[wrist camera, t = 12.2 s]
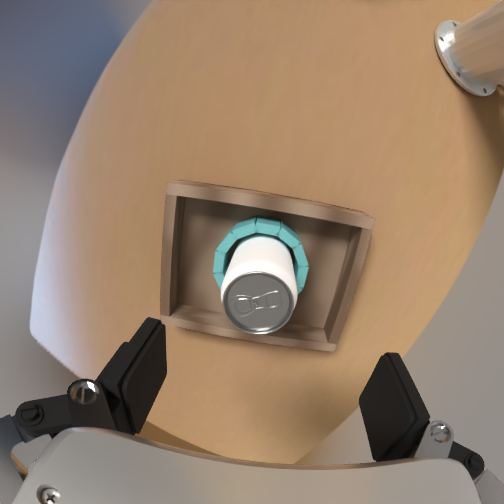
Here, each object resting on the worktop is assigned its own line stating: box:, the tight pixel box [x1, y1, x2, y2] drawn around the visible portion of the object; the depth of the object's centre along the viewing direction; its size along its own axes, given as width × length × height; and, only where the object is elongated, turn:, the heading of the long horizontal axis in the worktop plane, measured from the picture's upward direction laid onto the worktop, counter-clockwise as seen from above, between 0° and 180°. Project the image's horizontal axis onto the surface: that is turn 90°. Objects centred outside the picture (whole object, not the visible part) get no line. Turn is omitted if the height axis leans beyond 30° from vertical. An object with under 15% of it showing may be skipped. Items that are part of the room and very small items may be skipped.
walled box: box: [160, 180, 375, 352], centre depth 32 cm, size 22×17×4 cm
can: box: [221, 232, 297, 335], centre depth 27 cm, size 6×6×12 cm
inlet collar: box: [213, 215, 309, 295], centre depth 31 cm, size 10×10×4 cm
